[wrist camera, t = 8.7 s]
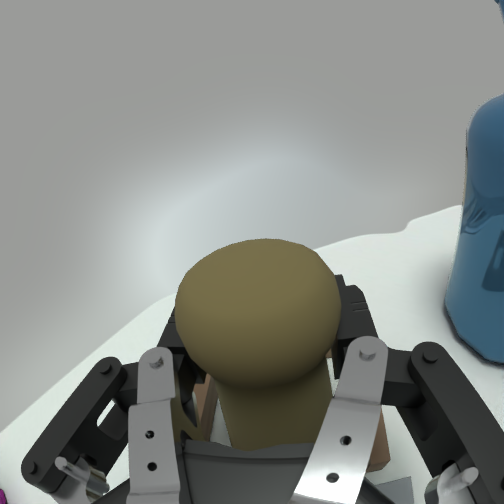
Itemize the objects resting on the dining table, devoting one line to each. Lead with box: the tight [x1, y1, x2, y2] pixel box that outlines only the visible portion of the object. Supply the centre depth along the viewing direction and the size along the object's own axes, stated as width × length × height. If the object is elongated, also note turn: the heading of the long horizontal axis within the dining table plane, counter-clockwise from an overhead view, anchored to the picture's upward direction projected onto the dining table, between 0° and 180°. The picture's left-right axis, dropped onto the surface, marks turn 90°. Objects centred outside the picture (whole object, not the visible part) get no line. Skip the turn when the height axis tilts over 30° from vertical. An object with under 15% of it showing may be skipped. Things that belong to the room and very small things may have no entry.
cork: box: [175, 239, 341, 451], centre depth 10 cm, size 6×6×11 cm
